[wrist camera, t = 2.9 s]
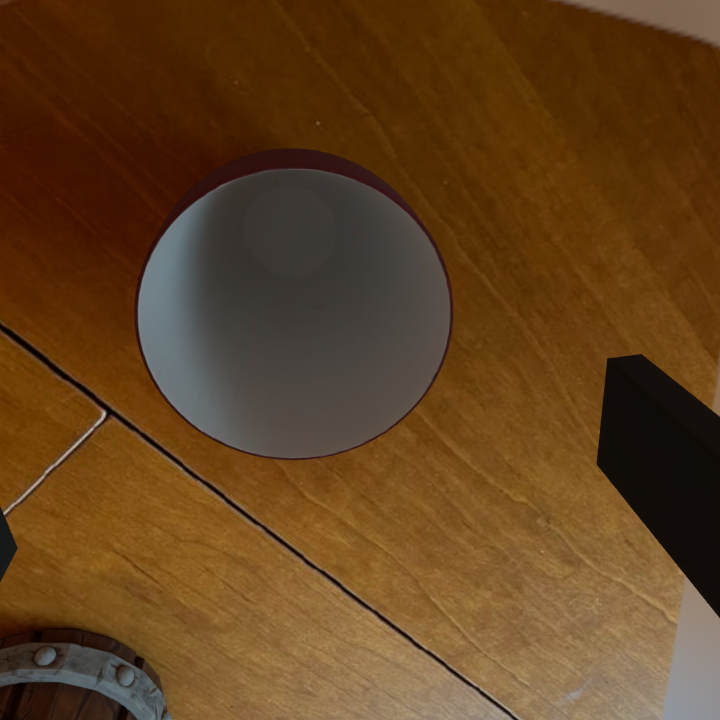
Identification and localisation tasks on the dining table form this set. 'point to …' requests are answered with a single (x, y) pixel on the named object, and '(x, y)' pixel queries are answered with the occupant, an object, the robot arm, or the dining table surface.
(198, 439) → the dining table surface
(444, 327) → the mug
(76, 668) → the mug
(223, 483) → the dining table surface
